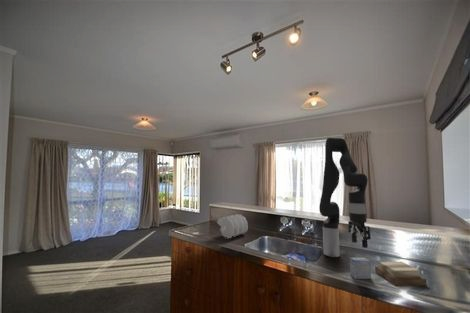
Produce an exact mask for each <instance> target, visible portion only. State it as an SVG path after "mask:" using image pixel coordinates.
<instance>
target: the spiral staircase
mask: <svg viewBox="0 0 470 313" xmlns="http://www.w3.org/2000/svg"><path fill="white" fill-rule="evenodd" d="M216 223H217V224H218V225H219V226H220V229H219V230H220V232H221V236H223V237H224V238H225V237H227V238H226V239H229V238H230V239H232V238H233V237H234V238H235V237H236V236H240V235H241V234H243V235H244V234H245V233H246V232H248V229H249V226H248V225H249V224H248V220H247V218H246V217H245V216H243V214H239V213H236V214H234V215H233V214H231V215H227V216H222V217H221V218H218V219H217V221H216ZM232 236H233V237H232Z"/></svg>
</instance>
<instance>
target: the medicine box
mask: <svg viewBox="0 0 470 313" xmlns="http://www.w3.org/2000/svg"><path fill="white" fill-rule="evenodd" d="M349 267H350V268H349V270H350V271H349V272H350V276H351V277H352V278H354V279H355V280H368V279H369V280H370V279H372V271H371V269H372V268H371V261H370V260H369V259H368V258H366V257H350V258H349Z"/></svg>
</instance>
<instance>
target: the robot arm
mask: <svg viewBox="0 0 470 313" xmlns="http://www.w3.org/2000/svg"><path fill="white" fill-rule="evenodd" d="M324 147H325V148H324V149H325V150H324V152H325V154H324V156H325V157H324V169H323V170H324V171H323V179H322V180H323V182H322V188H321V190H322V191H321V197H320V201H319V213H320V215H321V216H322V217H324V218H325V217H326V219H325V220H323V222H322V239H323V240H322V241H323V242H322V243H323V244H322V245H323V246H322V247H323V255H325V256H328V257H330V258H338V257H340V239H339V238H340V233H339V232H340V231H339V225H340V215H341V214H340V212H341V211H340V207H339V205H338V203H337V202H336V201H331V200H332V196H333V194H334V192H335V190H336V189H337V188H338V186H339V183H340V170H339V168H338V166H337V164H336V163H335V160H334V157H333V153H341V155H340V158H339V162H338V163H339V166H340V168H341V170H342V173H343V182H344V185H346V186H347V187H355V188H356V189H355V190H352V191H349V192H348V214H349V215H348V216H349V220H348V222H347V223H348V224H347V225H348V228H347V229H348V233H350V235H351V242H352V243H354V244H355V243H358V239H357V238H358V236H357V233H358V235H359V236H360V237H361V246H362V248H363V249H365V248H366V249H367V248H368V247H369V246H368V240H371V228H370V226H366V224H365V223H367V209H366V201H365V200H366V198H365V195H366V189H367V186H368V177H367V175H366V173H364V172H357V171H358V168H357V166H356V164H355V162H354V160H353V159H352V156H351V153H350V150H349V147H348V144H347V142H346V140H345V139H344V138H343V137H335V136H333V137H331V136H330V137H327V138H326V141H325V146H324Z"/></svg>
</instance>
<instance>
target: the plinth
mask: <svg viewBox="0 0 470 313" xmlns="http://www.w3.org/2000/svg"><path fill="white" fill-rule="evenodd" d="M374 270H375V272H374V273H376V274H377V275H379V276H381V277H382V278H383V279H385V280H386V281H388V282H390V283H391V284H392V285H394V286H396V287H427V285H428V284H427V279H426V278H425V277H422V276H421V274H420V271H421V270H420V269H418V268H416V267H413V266H411V265H410V264H407V263H406V262H403V261H379V266H377V265H376V266H375V267H374Z"/></svg>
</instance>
